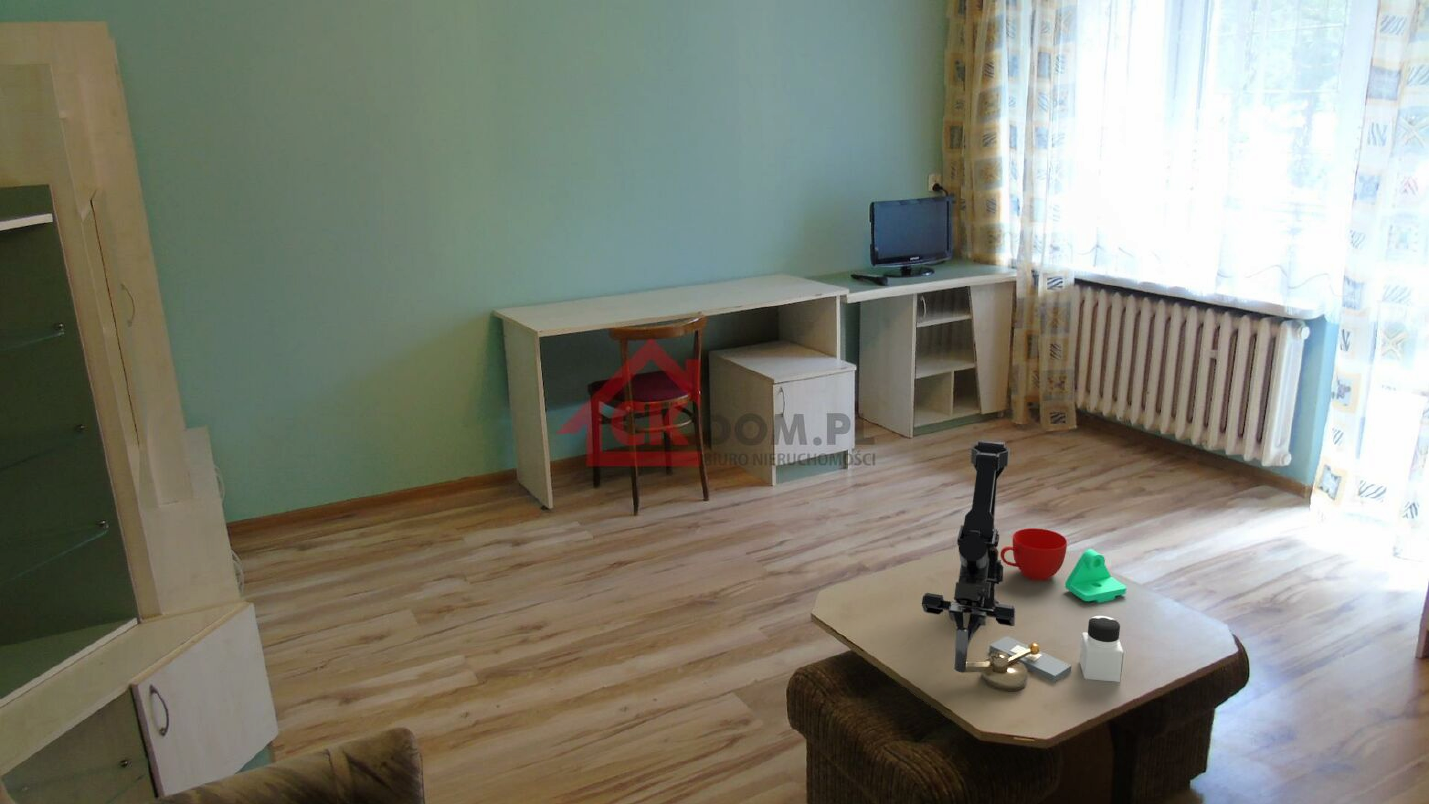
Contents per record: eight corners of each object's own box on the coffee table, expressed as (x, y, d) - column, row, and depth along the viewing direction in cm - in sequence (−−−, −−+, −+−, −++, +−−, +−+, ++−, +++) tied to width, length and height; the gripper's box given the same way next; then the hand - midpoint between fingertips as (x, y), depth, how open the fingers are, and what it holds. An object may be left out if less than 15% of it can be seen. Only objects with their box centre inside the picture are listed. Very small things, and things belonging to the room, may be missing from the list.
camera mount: (1085, 606, 235) (1088, 566, 232) (1064, 591, 242) (1068, 553, 239) (1127, 597, 238) (1131, 558, 235) (1106, 583, 245) (1109, 545, 242)
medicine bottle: (1120, 682, 204) (1126, 630, 200) (1084, 679, 205) (1089, 627, 201) (1114, 664, 210) (1119, 613, 207) (1079, 661, 212) (1083, 610, 208)
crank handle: (1036, 658, 212) (1040, 609, 209) (1056, 688, 201) (1060, 637, 198) (945, 662, 212) (947, 613, 209) (959, 693, 201) (962, 641, 197)
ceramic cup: (986, 569, 254) (988, 533, 251) (1045, 561, 258) (1048, 525, 255) (1012, 592, 242) (1015, 554, 239) (1074, 583, 246) (1078, 546, 243)
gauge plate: (989, 651, 216) (990, 644, 216) (1006, 641, 220) (1006, 635, 219) (1054, 682, 204) (1055, 675, 204) (1071, 671, 208) (1071, 664, 207)
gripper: (924, 558, 208) (913, 630, 201) (1017, 570, 201) (1008, 646, 194) (930, 576, 217) (919, 645, 210) (1018, 588, 210) (1010, 661, 204)
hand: (962, 649), depth 205 cm, fingers closed, pressing on crank handle
